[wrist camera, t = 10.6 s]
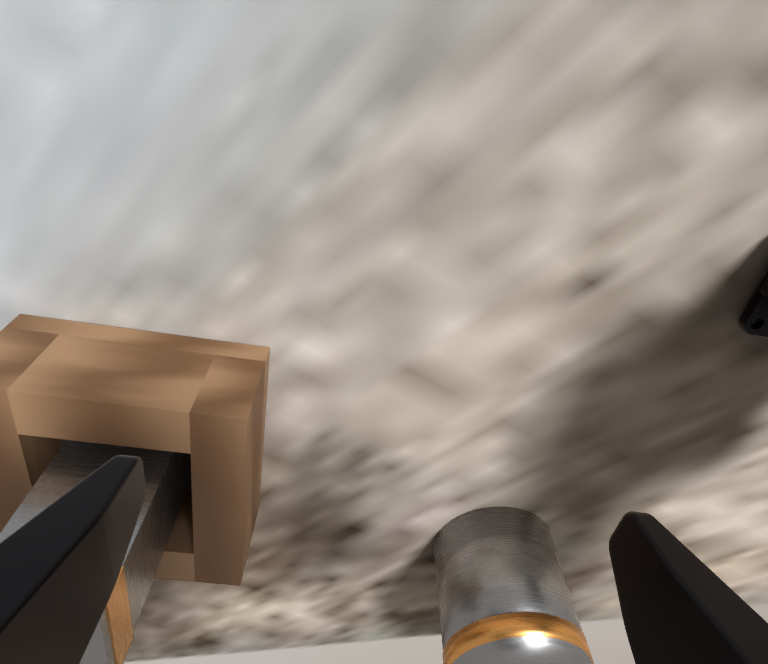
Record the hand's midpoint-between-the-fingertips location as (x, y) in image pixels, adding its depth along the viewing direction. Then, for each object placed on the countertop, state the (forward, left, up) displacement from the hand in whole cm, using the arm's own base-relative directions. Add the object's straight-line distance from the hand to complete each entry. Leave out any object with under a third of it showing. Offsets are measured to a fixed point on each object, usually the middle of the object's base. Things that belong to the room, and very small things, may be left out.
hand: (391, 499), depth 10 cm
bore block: (+9, +10, -12) cm, 18 cm away
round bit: (-9, +17, -12) cm, 23 cm away
